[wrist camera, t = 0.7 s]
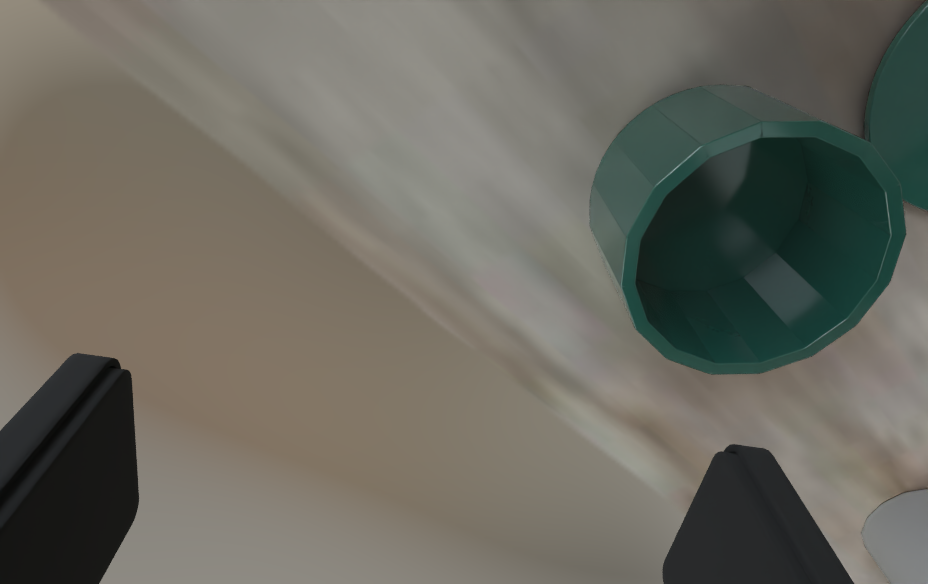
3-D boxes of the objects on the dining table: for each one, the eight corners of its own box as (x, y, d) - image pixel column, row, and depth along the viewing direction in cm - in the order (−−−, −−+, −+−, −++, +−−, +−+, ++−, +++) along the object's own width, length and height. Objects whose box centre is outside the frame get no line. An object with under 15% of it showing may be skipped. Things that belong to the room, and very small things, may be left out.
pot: (558, 141, 41) (586, 191, 32) (793, 44, 38) (888, 70, 30) (624, 325, 47) (662, 406, 39) (829, 252, 45) (917, 322, 36)
